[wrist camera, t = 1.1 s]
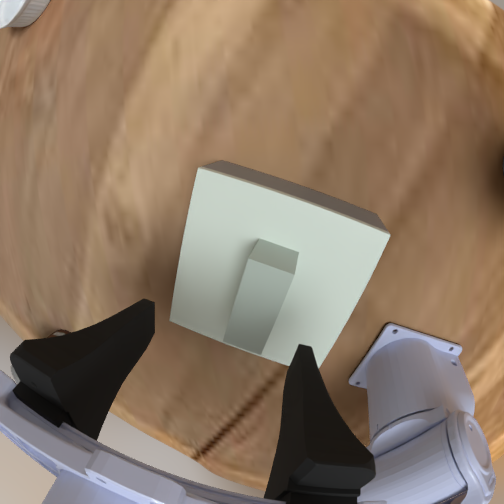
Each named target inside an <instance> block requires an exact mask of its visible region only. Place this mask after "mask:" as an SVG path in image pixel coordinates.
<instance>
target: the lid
mask: <svg viewBox="0 0 504 504" xmlns="http://www.w3.org/2000/svg"><path fill="white" fill-rule="evenodd" d="M389 237H390V234H389V232H388V231H385V230H383V229H380V228H378V227H375V226H373V225H370V224H368V223H365V222H363V221H360V220H358V219H355V218H353V217H350V216H348V215H345V214H342V213H340V212H337V211H334V210H332V209H329V208H326V207H324V206H321V205H318V204H315V203H313V202H310V201H307V200H304V199H301V198H299V197H296V196H293V195H290V194H287V193H284V192H281V191H278V190H275V189H272V188H269V187H266V186H263V185H260V184H257V183H254V182H251V181H248V180H245V179H242V178H238V177H235V176H232V175H229V174H225V173H222V172H219V171H215V170H212V169H209V168H205V167H199V168H198V171H197V175H196V179H195V184H194V188H193V193H192V197H191V202H190V207H189V211H188V216H187V221H186V226H185V231H184V236H183V242H182V247H181V253H180V258H179V264H178V269H177V275H176V281H175V288H174V294H173V300H172V307H171V314H170V321H171V322H173V323H176V324H178V325H180V326H183V327H185V328H187V329H190V330H192V331H195V332H197V333H200V334H202V335H205V336H207V337H210V338H212V339H215V340H217V341H220V342H222V343H225V344H228V345H230V346H233V347H236V348H238V349H241V350H244V351H246V352H249V353H252V354H255V355H258V356H261V357H263V358H266V359H269V360H272V361H275V362H278V363H281V364H284V365H287V366H290V364H291V362H292V359H293V357H294V354H295V352H296V349H297V347H298V345H299V344H303V345H307V346H311V347H312V348H313V352H314V356H315V359H316V363H317V366H318V369H319V367H320V366H321V364H322V362H323V361H324V359H325V358H326V356H327V354H328V353H329V351H330V349H331V348H332V346H333V344H334V343H335V341H336V339H337V338H338V336H339V334H340V333H341V331H342V329H343V327H344V326H345V324H346V322H347V320H348V319H349V317H350V315H351V313H352V311H353V310H354V308H355V306H356V304H357V302H358V300H359V298H360V297H361V295H362V293H363V291H364V289H365V287H366V285H367V283H368V281H369V279H370V277H371V275H372V273H373V271H374V269H375V267H376V265H377V263H378V261H379V259H380V257H381V255H382V253H383V250H384V248H385V246H386V244H387V242H388V240H389Z"/></svg>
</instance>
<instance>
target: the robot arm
mask: <svg viewBox="0 0 504 504" xmlns="http://www.w3.org/2000/svg"><path fill="white" fill-rule="evenodd" d="M395 329H397V330H396V331H393V330H395ZM154 333H155V302H152V301H149V300H146V299H142V300H141V301H139V302H137V303H135V304H133V305H132V306H130V307H128V308H126V309H124V310H123V311H121V312H119V313H117V314H115V315H113V316H112V317H109V318H107V319H105V320H103V321H101V322H99V323H97V324H95V325H92V326H90V327H87V328H84V329H82V330H79V331H76V332H72V333H68V334H65V335H61V336H56V337H50V338H43V339H32V340H24V341H23V342H22V343H21V345H19V346H18V347H17V348H16V349H15V350H14V352H12V353H11V355H10V360H11V363H12V366H13V368H14V370H15V372H16V374H17V376H18V378H19V380H20V382H19V383H18V384H16V383H15V382H14V381H13V380H12V379H11V378H10V377H9V376H8V375H6V374H5V373H4V372H3V371H1V370H0V431H1V432H2V433H3V434H4V435H5V436H6V437H8V438H9V439H10V440H11V441H12V442H13V443H14V444H16V445H17V446H18V447H19V448H21V450H23V451H24V452H25V453H26V454H27V455H29V456H30V457H31V458H32V459H34V460H35V461H36V462H38V463H39V464H40V465H41V466H43V467H44V468H46V469H47V470H48V471H49V472H51V473H52V474H54V475H55V476H56V477H57V479H56V480H55V482H54V484H53V485H52V487H51V489H50V491H49V492H48V494H47V496H46V498H45V499H44V501H43V503H42V504H488V503H489V502H490V500H491V498H492V496H493V493H494V488H495V483H496V477H495V473H494V470H493V467H492V463H491V455H490V450H489V447H488V444H487V441H486V438H485V436H484V433H483V431H482V429H481V427H480V426H479V424H478V422H477V421H476V419H475V418H474V417H473V415H474V408H475V401H474V395H473V393H472V390H471V387H470V385H469V382H468V380H467V377H466V375H465V372H464V370H463V367H462V365H461V363H460V360H459V358H458V355H459V354H460V353H461V351H462V347H461V345H458V344H455V343H452V342H448V341H445V340H442V339H439V338H436V337H433V336H430V335H426V334H423V333H420V332H417V331H414V330H411V329H408V328H405V327H402V326H399V325H396V324H393V323H389V324H387V325H386V326H385V327H384V329H383V330H382V332H381V334H380V335H379V337H378V338H377V340H376V341H375V343H374V344H373V346H372V347H371V349H370V350H369V352H368V353H367V355H366V356H365V358H364V359H363V360H362V362H361V363H360V365H359V366H358V367H357V369H356V370H355V372H354V373H353V374H352V376H351V377H350V378H349V384H350V385H353V386H357V387H361V388H365V389H367V395H368V410H369V428H370V445H369V446H368V447H365V446H364V445H363V444H362V443H361V442H360V441H359V440H358V439H357V438H356V436H355V435H354V434H353V433H352V432H351V430H350V429H349V427H348V426H347V425H346V423H345V422H344V421H343V419H342V417H341V416H340V414H339V413H338V411H337V409H336V407H335V406H334V404H333V402H332V400H331V398H330V396H329V394H328V392H327V389H326V387H325V385H324V382H323V380H322V377H321V374H320V372H319V369H318V366H317V363H316V359H315V356H314V352H313V348H312V347H311V346H307V345H303V344H299V345H298V347H297V349H296V352H295V354H294V357H293V359H292V362H291V364H290V366H289V369H288V371H287V375H286V380H285V385H284V392H283V404H282V416H281V428H280V435H279V440H278V445H277V449H276V454H275V458H274V462H273V466H272V470H271V474H270V478H269V481H268V485H267V488H266V492H265V495H264V498H258V497H253V496H248V495H244V494H239V493H235V492H230V491H226V490H222V489H218V488H214V487H211V486H207V485H203V484H200V483H197V482H194V481H191V480H187V479H185V478H182V477H179V476H176V475H173V474H170V473H167V472H165V471H162V470H159V469H157V468H154V467H152V466H149V465H146V464H144V463H142V462H139V461H137V460H135V459H132V458H130V457H128V456H126V455H124V454H122V453H119V452H118V451H115V450H113V449H111V448H109V447H107V446H105V445H103V444H102V443H100V442H98V441H97V439H98V436H99V433H100V431H101V428H102V425H103V423H104V421H105V418H106V416H107V414H108V411H109V409H110V407H111V405H112V403H113V401H114V399H115V397H116V395H117V393H118V391H119V389H120V387H121V385H122V383H123V382H124V380H125V379H126V377H127V376H128V374H129V373H130V371H131V370H132V369H133V367H134V366H135V364H136V363H137V362H138V360H139V359H140V357H141V356H142V354H143V353H144V351H145V350H146V349H147V347H148V345H149V343H150V341H151V339H152V337H153V335H154ZM451 347H452V348H451ZM456 495H457V496H456ZM454 496H455V497H454ZM452 497H453V498H452ZM450 498H451V499H450ZM448 499H449V500H448ZM443 501H444V502H443ZM441 502H442V503H441Z"/></svg>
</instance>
